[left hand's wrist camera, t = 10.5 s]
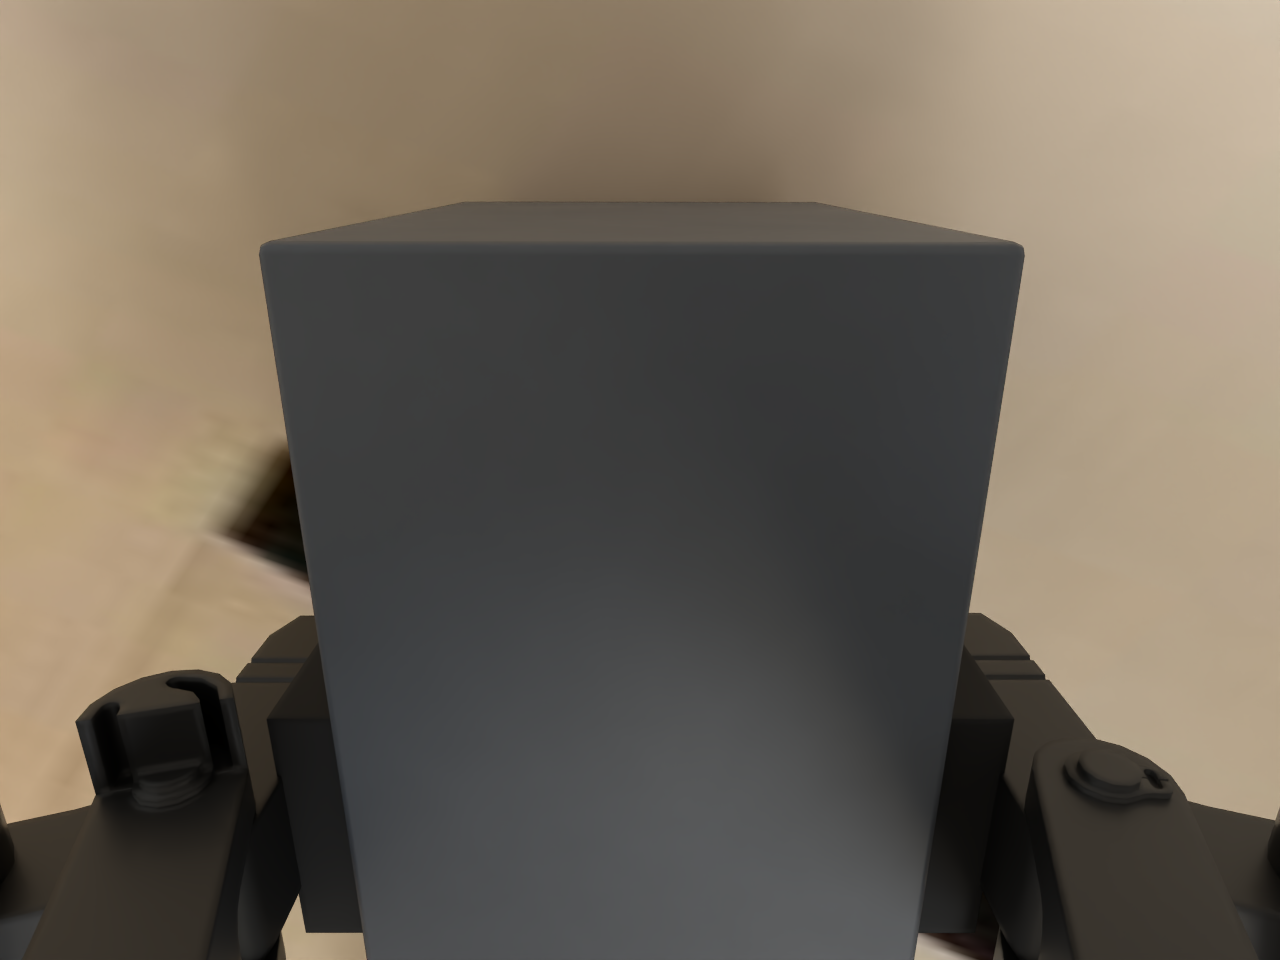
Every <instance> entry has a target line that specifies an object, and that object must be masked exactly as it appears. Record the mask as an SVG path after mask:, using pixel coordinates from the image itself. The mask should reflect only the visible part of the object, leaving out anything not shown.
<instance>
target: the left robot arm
mask: <svg viewBox="0 0 1280 960" xmlns="http://www.w3.org/2000/svg"><path fill="white" fill-rule="evenodd" d="M75 722H76V726H77V729H78V733H79V736H80V740H81V743H82V747H83V751H84V754H85V758H86V761H87V765H88V768H89V772H90V775H91V779H92V783H93V786H94V790H95V793H96V796H95V798H94V800H93V802H92V805H90V806H86V807H82V808H79V809H75V810H70V811H66V812H61V813H56V814H52V815H47V816H42V817H38V818H33V819H28V820H23V821H19V822H14V823H9V824H7V823H6V820H5V817H4V814H3V811H2V808H1V805H0V960H286V955H285V948H284V943H283V938H282V933H281V930H282V928H283V926H284V924H285V922H286V919H287V917H288V915H289V913H290V911H291V909H292V907H293V905H294V902H295V900H296V898H297V896H298V894H299V897H300V903H301V908H302V914H303V919H304V924H305V930H306V933H363V930H362V923H361V917H360V910H359V904H358V897H357V891H356V884H355V878H354V871H353V865H352V858H351V851H350V845H349V838H348V832H347V825H346V819H345V812H344V806H343V799H342V793H341V786H340V780H339V773H338V767H337V760H336V753H335V747H334V740H333V734H332V727H331V721H330V714H329V708H328V701H327V695H326V688H325V682H324V675H323V669H322V662H321V655H320V649H319V642H318V636H317V629H316V623H315V616H299V617H298V618H296V619H295V620H293V621H292V622H290V623H288V624H287V625H285V626H284V627H282V628H281V629H279V630H278V631H276V632H274V633H273V634H271V635H270V636H269V637H268V638H267V640H266V641H265V642H264V643H263V645H262V646H261V647H260V648H259V650H258V651H257V652H256V654H255V655H254V656H253V657H252V661H251V663H248V664H247V665H246V666H245V667H244V669H243V670H242V671H241V672H240V674H239V675H238V676H237V678H236V683H230V682H229V681H228V680H227V679H225V678H224V677H223V676H221V675H220V674H217V673H213V672H208V671H203V670H180V671H169V672H165V673H161V674H156V675H152V676H148V677H143V678H140V679H138V680H136V681H133V682H131V683H128V684H126V685H123V686H121V687H118V688H116V689H114V690H112V691H111V692H109V693H107V694H106V695H104V696H103V697H101V698H100V699H98V700H97V701H95V702H94V703H92V704H90V705H89V707H88V708H87V709H86V710H85V711H84V712H83V713H82V715H81V716H80V717H79V718H78V719H77V720H76V721H75ZM982 891H983V892H984V894H985V897H986V899H987V901H988V903H989V905H990V907H991V909H992V911H993V913H994V916H995V918H996V920H997V922H998V924H999V926H1000V928H999V933H998V938H997V943H996V948H995V953H994V958H993V960H1280V808H1279V811H1278V814H1277V817H1276V820H1275V821H1274V820H1270V819H1265V818H1260V817H1256V816H1251V815H1246V814H1241V813H1237V812H1232V811H1227V810H1223V809H1218V808H1213V807H1208V806H1204V805H1201V804H1197V803H1193V802H1190V801H1187V799H1186V796H1185V794H1184V793H1183V791H1182V790H1181V789H1180V787H1179V786H1178V785H1177V783H1176V782H1175V781H1174V779H1173V778H1172V777H1171V775H1169V774H1168V773H1167V772H1165V771H1164V770H1163V769H1161V768H1160V767H1159V766H1157V765H1156V764H1155V763H1153V762H1152V761H1151V760H1149V759H1148V758H1146V757H1144V756H1142V755H1139V754H1137V753H1135V752H1133V751H1131V750H1129V749H1127V748H1125V747H1122V746H1120V745H1116V744H1112V743H1108V742H1105V741H1101V740H1097V739H1096V738H1095V737H1094V736H1093V734H1092V733H1091V732H1090V731H1089V729H1088V728H1087V727H1086V726H1085V724H1084V723H1083V722H1082V721H1081V719H1080V718H1079V717H1078V716H1077V714H1076V713H1075V712H1074V711H1073V709H1072V708H1071V707H1070V706H1069V704H1068V703H1067V702H1066V701H1065V699H1064V698H1063V697H1062V696H1061V694H1060V693H1059V692H1058V691H1057V689H1056V688H1055V687H1054V685H1053V684H1052V683H1051V682H1050V680H1045V674H1044V673H1043V672H1042V670H1041V669H1040V668H1039V667H1038V665H1037V664H1036V663H1035V662H1034V660H1030V655H1029V654H1028V653H1027V652H1026V650H1025V649H1024V648H1023V647H1022V645H1021V644H1020V643H1019V642H1018V640H1017V639H1016V638H1015V637H1014V635H1013V634H1012V633H1011V632H1009V631H1008V630H1006V629H1005V628H1003V627H1002V626H1000V625H998V624H997V623H995V622H994V621H992V620H991V619H989V618H987V617H986V616H984V615H983V614H981V613H968V619H967V625H966V632H965V638H964V645H963V651H962V657H961V664H960V670H959V676H958V683H957V689H956V695H955V702H954V708H953V715H952V721H951V727H950V734H949V740H948V746H947V753H946V759H945V765H944V772H943V778H942V784H941V791H940V797H939V804H938V810H937V816H936V823H935V829H934V835H933V842H932V848H931V854H930V861H929V867H928V874H927V880H926V886H925V893H924V899H923V905H922V912H921V918H920V924H919V931H918V933H975V929H976V923H977V918H978V913H979V907H980V902H981V897H982Z"/></svg>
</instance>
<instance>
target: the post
mask: <svg viewBox="0 0 1280 960" xmlns="http://www.w3.org/2000/svg"><path fill="white" fill-rule="evenodd" d="M259 257H260V263H261V270H262V277H263V283H264V290H265V296H266V303H267V309H268V316H269V322H270V329H271V335H272V342H273V348H274V355H275V361H276V368H277V375H278V381H279V388H280V394H281V401H282V407H283V414H284V420H285V427H286V433H287V440H288V446H289V453H290V459H291V466H292V473H293V479H294V486H295V492H296V499H297V505H298V512H299V518H300V525H301V531H302V538H303V544H304V551H305V557H306V564H307V571H308V577H309V584H310V590H311V597H312V603H313V610H314V616H315V623H316V629H317V636H318V642H319V649H320V655H321V662H322V669H323V675H324V682H325V688H326V695H327V701H328V708H329V714H330V721H331V727H332V734H333V740H334V747H335V753H336V760H337V767H338V773H339V780H340V786H341V793H342V799H343V806H344V812H345V819H346V825H347V832H348V838H349V845H350V851H351V858H352V865H353V871H354V878H355V884H356V891H357V897H358V904H359V910H360V917H361V923H362V930H363V936H364V943H365V949H366V956H367V960H914V956H915V950H916V944H917V937H918V931H919V924H920V918H921V912H922V905H923V899H924V893H925V886H926V880H927V874H928V867H929V861H930V854H931V848H932V842H933V835H934V829H935V823H936V816H937V810H938V804H939V797H940V791H941V784H942V778H943V772H944V765H945V759H946V753H947V746H948V740H949V734H950V727H951V721H952V715H953V708H954V702H955V695H956V689H957V683H958V676H959V670H960V664H961V657H962V651H963V645H964V638H965V632H966V625H967V619H968V613H969V606H970V600H971V594H972V587H973V581H974V575H975V568H976V562H977V555H978V549H979V543H980V536H981V530H982V524H983V517H984V511H985V505H986V498H987V492H988V486H989V479H990V473H991V466H992V460H993V454H994V447H995V441H996V435H997V428H998V422H999V416H1000V409H1001V403H1002V396H1003V390H1004V384H1005V377H1006V371H1007V365H1008V358H1009V352H1010V346H1011V339H1012V333H1013V327H1014V320H1015V314H1016V307H1017V301H1018V295H1019V288H1020V282H1021V276H1022V269H1023V263H1024V257H1025V255H1024V248H1023V246H1022V245H1019V244H1017V243H1015V242H1011V241H1006V240H1001V239H996V238H991V237H986V236H981V235H976V234H971V233H966V232H961V231H956V230H951V229H946V228H941V227H936V226H931V225H926V224H921V223H916V222H911V221H906V220H901V219H896V218H891V217H886V216H881V215H876V214H871V213H866V212H861V211H856V210H851V209H846V208H841V207H836V206H831V205H826V204H821V203H816V202H462V203H457V204H452V205H447V206H442V207H437V208H432V209H427V210H422V211H417V212H412V213H407V214H402V215H397V216H392V217H387V218H382V219H377V220H373V221H368V222H363V223H358V224H353V225H348V226H343V227H338V228H333V229H328V230H323V231H318V232H313V233H308V234H303V235H298V236H293V237H288V238H283V239H278V240H273V241H269V242H267V243H265V244H262V245H261V247H260V252H259Z"/></svg>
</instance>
